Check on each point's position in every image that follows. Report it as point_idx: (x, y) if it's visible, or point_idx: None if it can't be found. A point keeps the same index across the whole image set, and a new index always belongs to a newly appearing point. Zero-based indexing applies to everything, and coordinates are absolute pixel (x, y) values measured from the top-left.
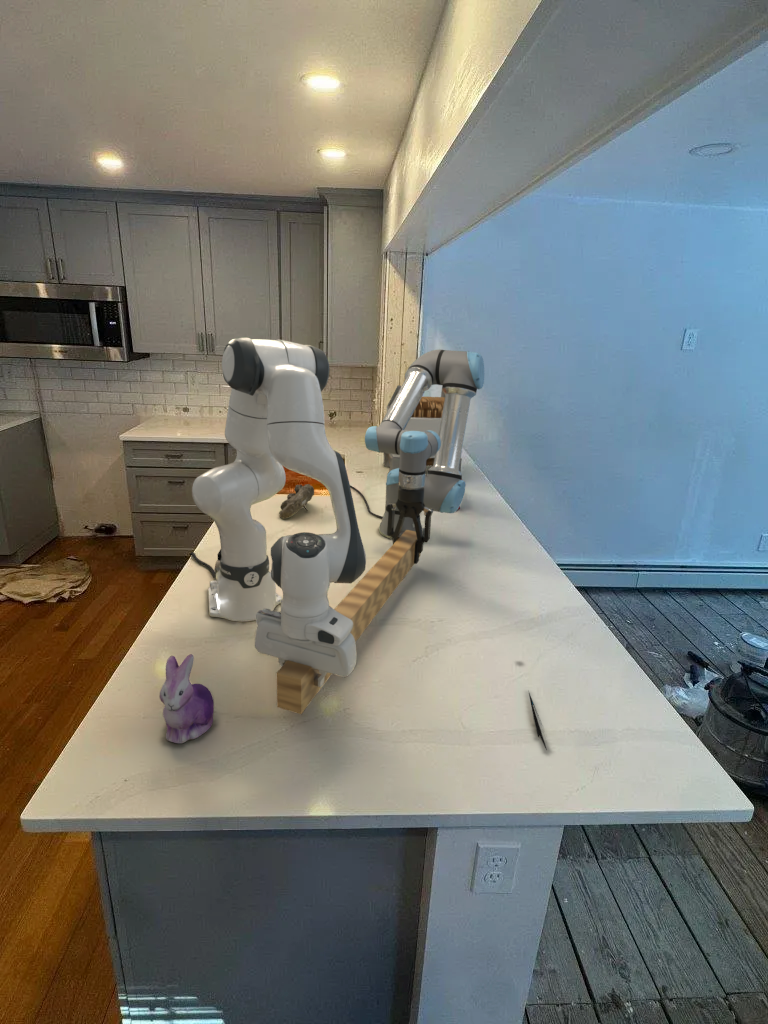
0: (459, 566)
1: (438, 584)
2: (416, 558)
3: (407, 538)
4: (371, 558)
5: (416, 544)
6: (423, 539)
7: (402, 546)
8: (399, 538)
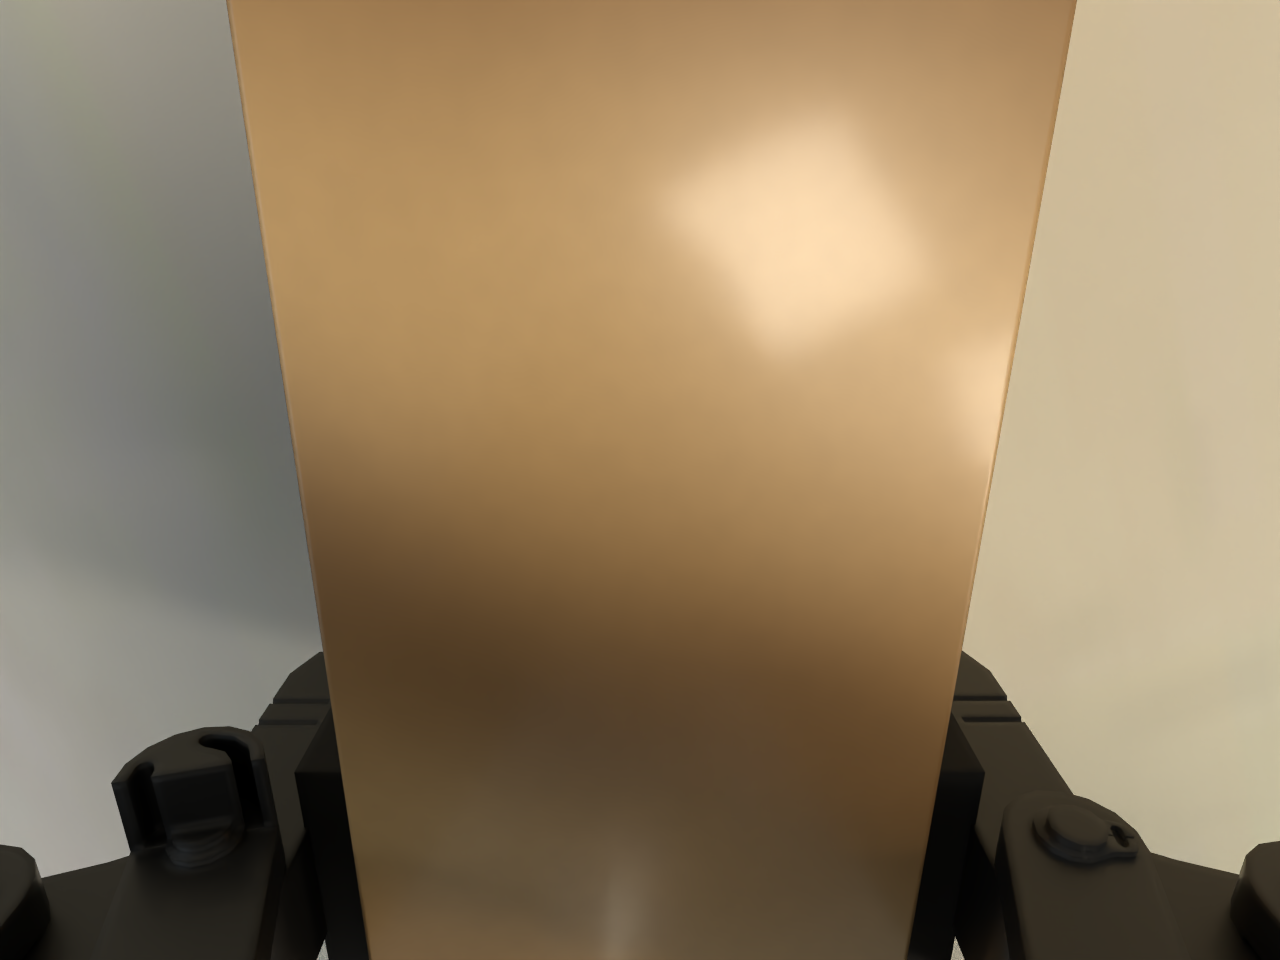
0: None
1: (106, 331)
2: None
3: (649, 901)
4: (1181, 687)
5: (337, 752)
6: (64, 951)
7: (587, 181)
8: (898, 812)
